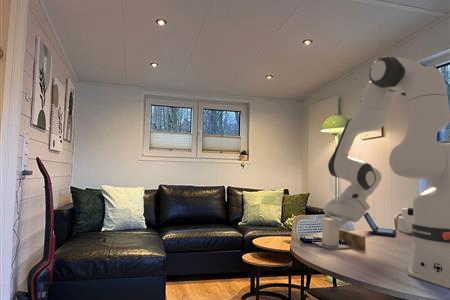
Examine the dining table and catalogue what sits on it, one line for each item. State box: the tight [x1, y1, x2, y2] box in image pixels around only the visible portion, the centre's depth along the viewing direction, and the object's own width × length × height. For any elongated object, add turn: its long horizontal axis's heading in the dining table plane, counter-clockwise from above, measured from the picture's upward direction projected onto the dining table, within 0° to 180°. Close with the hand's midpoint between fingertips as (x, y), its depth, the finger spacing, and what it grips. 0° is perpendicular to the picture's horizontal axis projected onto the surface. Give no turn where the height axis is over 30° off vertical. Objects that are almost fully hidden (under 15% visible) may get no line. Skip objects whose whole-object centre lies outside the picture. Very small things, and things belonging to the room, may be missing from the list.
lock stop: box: [321, 217, 340, 246], centre depth 125 cm, size 4×4×10 cm
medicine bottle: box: [397, 207, 413, 234], centre depth 158 cm, size 7×7×12 cm
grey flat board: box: [311, 240, 352, 251], centre depth 125 cm, size 12×10×1 cm
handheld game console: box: [363, 211, 397, 238], centre depth 154 cm, size 16×13×9 cm
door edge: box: [339, 228, 366, 251], centre depth 129 cm, size 20×2×5 cm, turn 14°
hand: (330, 224), depth 125 cm, fingers open, 8 cm apart
